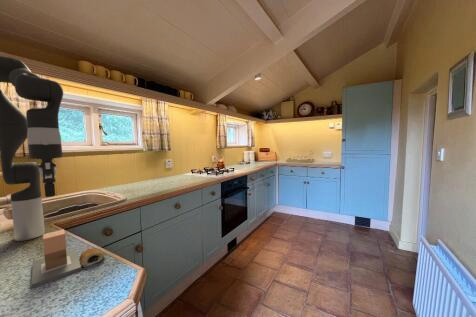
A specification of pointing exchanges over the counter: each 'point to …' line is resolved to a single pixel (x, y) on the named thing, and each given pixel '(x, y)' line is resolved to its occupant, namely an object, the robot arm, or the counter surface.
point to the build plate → (54, 269)
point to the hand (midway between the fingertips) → (50, 194)
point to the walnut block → (55, 259)
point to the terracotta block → (54, 241)
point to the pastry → (91, 257)
